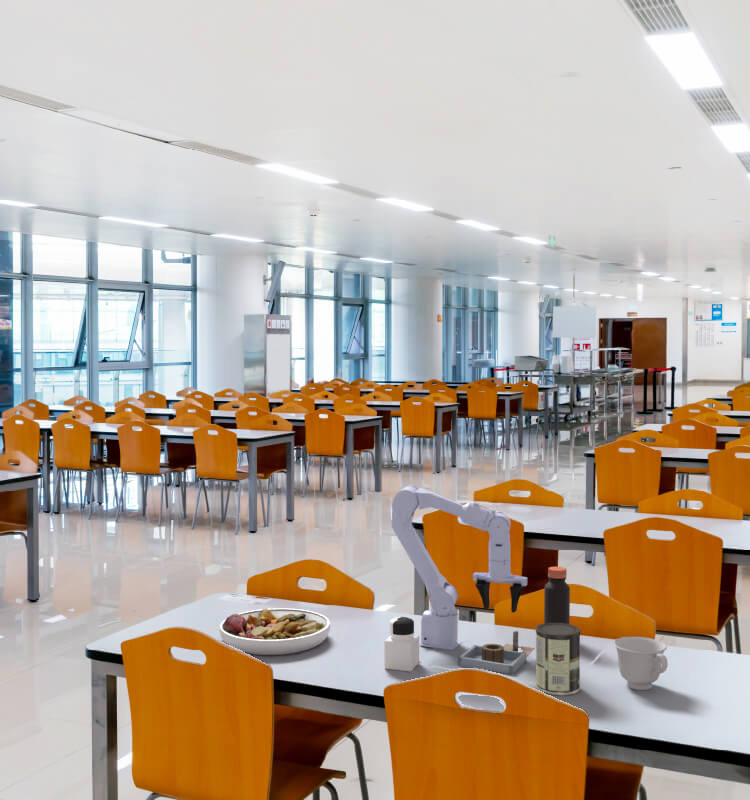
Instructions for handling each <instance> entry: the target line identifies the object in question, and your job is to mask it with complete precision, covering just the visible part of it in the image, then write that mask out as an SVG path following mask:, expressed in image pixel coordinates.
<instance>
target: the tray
mask: <svg viewBox="0 0 750 800" xmlns="http://www.w3.org/2000/svg"><path fill="white" fill-rule="evenodd" d="M482 646H483V645H479V644H478V645H477V644H473V645H471V647H470V648H468V649H467V650H466V651H465V652H463V653H462V654H461V655H460V656H458V666H459V667H465V668H471V667H475V668H474V669H477V668H483V669H488V670H487V671H489V670H491V671H490V672H495V671H497V672H496V673H502V674H507V675H513V674H514V673H515V672H516V671H518V669H519V668H520V667H521V666H522V665H523V664H524V663H526V662H527V656H526V653H524V652H517V651H511V650H504V663H497V662H491V661H485V660H482ZM483 669H482V670H483Z"/></svg>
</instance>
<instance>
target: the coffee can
mask: <svg viewBox="0 0 750 800" xmlns="http://www.w3.org/2000/svg"><path fill="white" fill-rule="evenodd" d="M535 636H536V637H535V643H536V644H535V646H536V647H535V648H536V649H535V653H536V654H535V656H536V657H535V665H536V666H535V667H536V668H535V672H536V673H535V687H536V689H537V690H538V689H539V690H541V691H543V692H546V693H548V694H547V695H550V694H551V695H552V696H571V695H574V694H578V693H579V691H580V690H581V687H580V683H581V682H580V681H581V680H580V669H581V668H580V666H581V665H580V663H581V662H580V657H581V655H580V654H581V653H580V649H581V648H580V647H581V644H580V643H581V642H580V641H581V640H580V637H581V629H580V628H579V627H578V626H576V625H573V624H571V623H570V624H566V623H544V622H543V623H540V624H538V625H536V626H535ZM539 690H538V691H539ZM541 691H540V692H541ZM543 692H542V693H543ZM546 693H545V694H546Z"/></svg>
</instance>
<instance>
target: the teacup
mask: <svg viewBox="0 0 750 800" xmlns="http://www.w3.org/2000/svg"><path fill="white" fill-rule="evenodd" d="M613 645H614V647H615V648H616V653H617V661H618V668H619V673H620V676H621V677H622V678H623V679H624V680H625V681H627V682H626V685H627V687H628V688H631V689H633V690H637V691H648V690H651V689H652V688H653V684H654V683H655V682H657V680H659V677H660V675H661V674H663V673H664V672H665V673H666V671H667V668H668V658H667V656H666V655H665V654H664V653H665V651H666V650H667V649H668V647H667V645H666V644H665V643H664V642H662V641H661V640H659V639H655V638H651V637H645V636H623V637H619V638H617V639H615V640H614V641H613Z"/></svg>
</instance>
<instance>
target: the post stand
mask: <svg viewBox="0 0 750 800" xmlns="http://www.w3.org/2000/svg"><path fill="white" fill-rule="evenodd" d="M502 646H503V647H504V650H511V651H517V652H518V648H521V650H523V651H522V652H524V653H526V657H527V656H529V655H530V654H531V653H532V652H533V651H534V650H536V649H535V648H536V647H529V646H523V645H522V646H521V645H519V630H513V631H512V644H509V643H505V644H504V645H502ZM519 646H521V647H519Z"/></svg>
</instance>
